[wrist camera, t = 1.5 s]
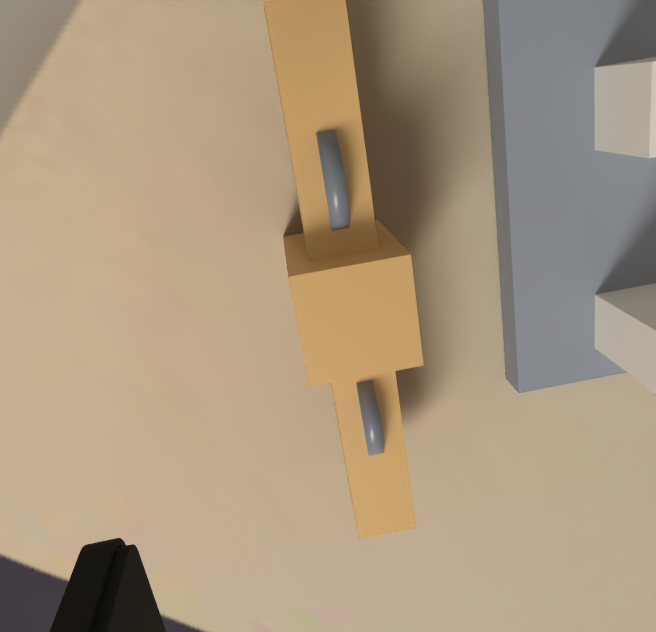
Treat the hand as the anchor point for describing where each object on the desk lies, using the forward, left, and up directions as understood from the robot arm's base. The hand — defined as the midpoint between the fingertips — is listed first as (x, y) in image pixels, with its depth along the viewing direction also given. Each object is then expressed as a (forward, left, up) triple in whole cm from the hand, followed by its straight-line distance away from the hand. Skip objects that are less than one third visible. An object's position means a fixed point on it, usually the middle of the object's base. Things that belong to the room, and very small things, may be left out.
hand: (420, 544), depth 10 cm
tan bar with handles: (-1, 0, -16) cm, 16 cm away
